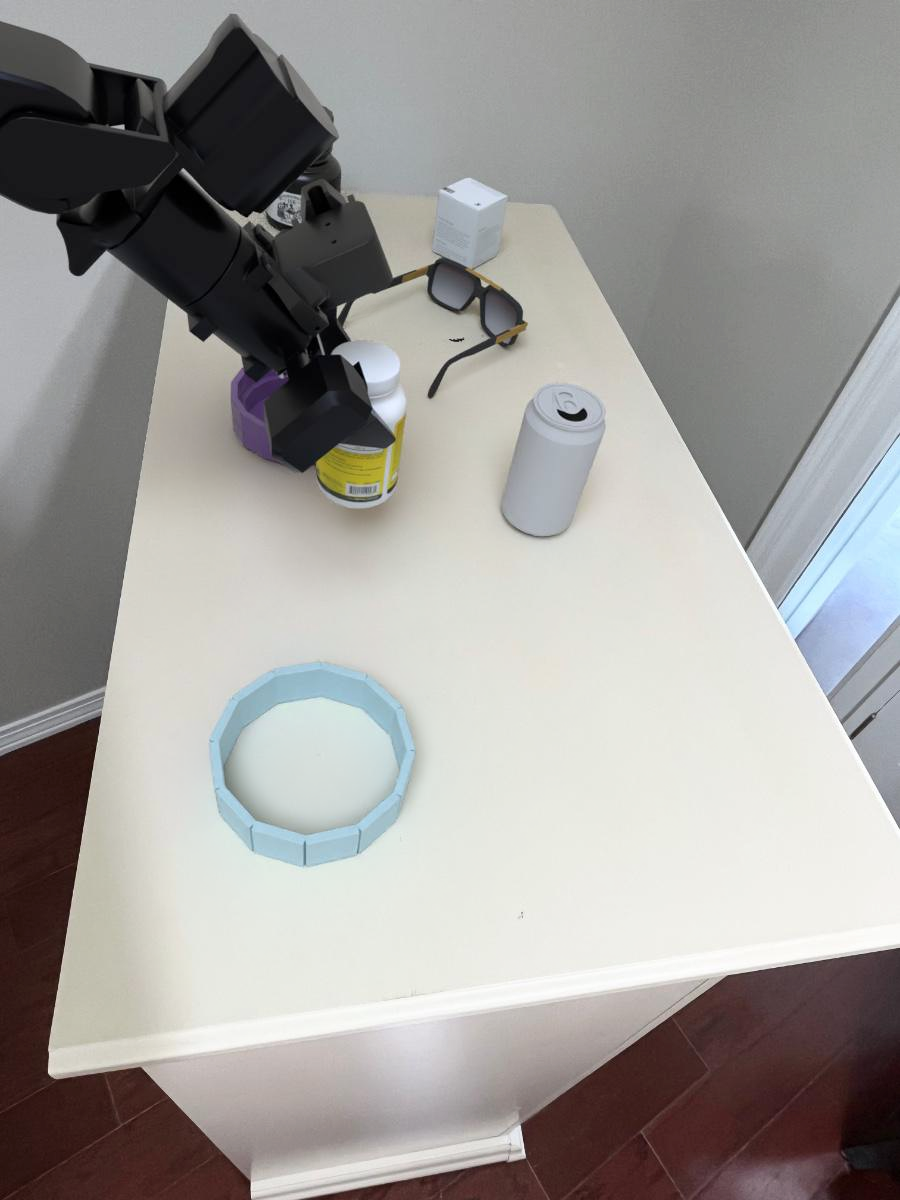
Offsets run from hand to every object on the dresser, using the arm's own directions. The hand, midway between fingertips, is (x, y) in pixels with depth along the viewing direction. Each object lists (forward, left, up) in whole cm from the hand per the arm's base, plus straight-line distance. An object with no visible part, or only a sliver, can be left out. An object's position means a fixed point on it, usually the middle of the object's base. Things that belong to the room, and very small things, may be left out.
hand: (380, 413), depth 56 cm
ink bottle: (-23, +47, -12) cm, 54 cm away
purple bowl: (-10, +10, -12) cm, 19 cm away
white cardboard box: (-3, +49, -12) cm, 51 cm away
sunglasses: (-2, +29, -12) cm, 32 cm away
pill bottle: (-1, -1, -7) cm, 7 cm away
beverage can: (+13, +7, -12) cm, 19 cm away
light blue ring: (+3, -22, -12) cm, 25 cm away
